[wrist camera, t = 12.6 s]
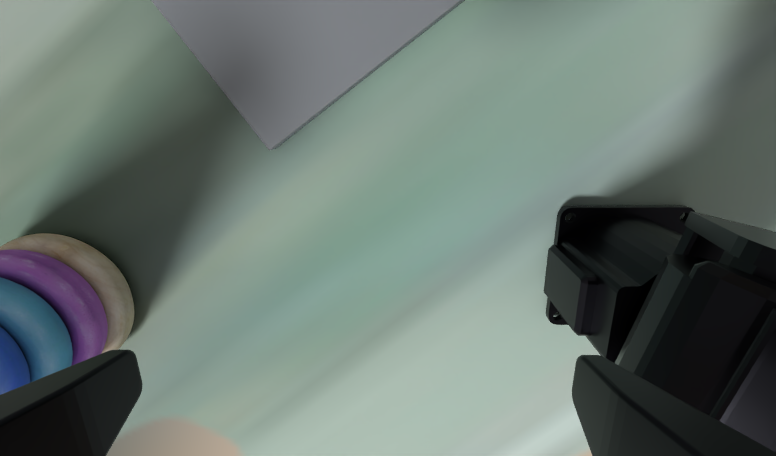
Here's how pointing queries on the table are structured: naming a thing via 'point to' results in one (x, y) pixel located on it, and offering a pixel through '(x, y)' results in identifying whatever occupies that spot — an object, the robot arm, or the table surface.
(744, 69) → the table surface
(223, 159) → the table surface
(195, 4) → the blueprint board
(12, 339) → the stacking toy
